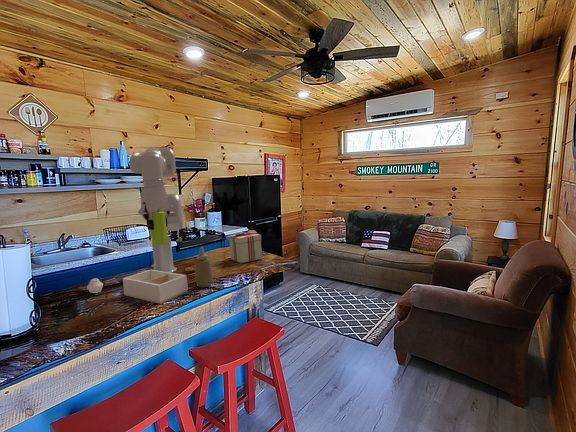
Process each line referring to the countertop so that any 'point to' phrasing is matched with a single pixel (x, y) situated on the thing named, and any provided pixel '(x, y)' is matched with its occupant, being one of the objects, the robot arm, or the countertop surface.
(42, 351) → the countertop surface
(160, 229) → the soap dispenser
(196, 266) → the squeeze bottle
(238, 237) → the gift box
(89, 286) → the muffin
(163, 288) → the caddy
